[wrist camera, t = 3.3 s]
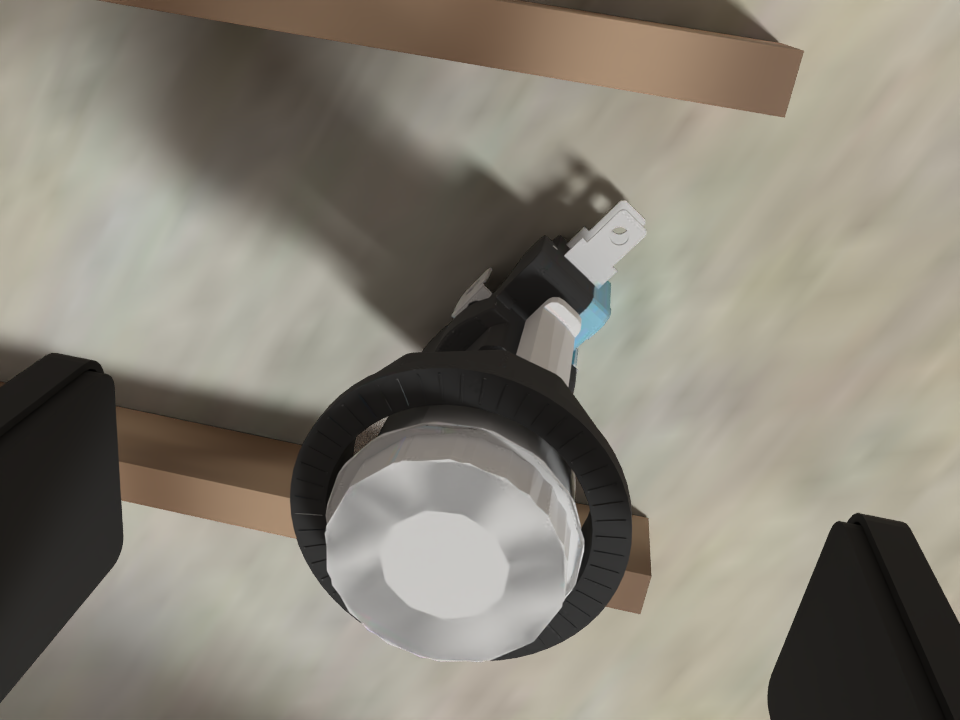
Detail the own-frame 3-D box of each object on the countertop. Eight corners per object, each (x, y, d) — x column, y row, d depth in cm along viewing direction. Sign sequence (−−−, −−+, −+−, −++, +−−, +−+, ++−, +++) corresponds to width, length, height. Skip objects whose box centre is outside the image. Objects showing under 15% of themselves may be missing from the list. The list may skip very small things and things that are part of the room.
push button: (555, 125, 19) (495, 246, 10) (716, 284, 20) (794, 526, 11) (374, 318, 22) (197, 552, 13) (524, 451, 23) (458, 758, 14)
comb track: (781, 40, 18) (852, 62, 12) (637, 555, 23) (642, 726, 18) (-278, -133, 20) (-621, -180, 14) (-174, 381, 25) (-391, 488, 20)
